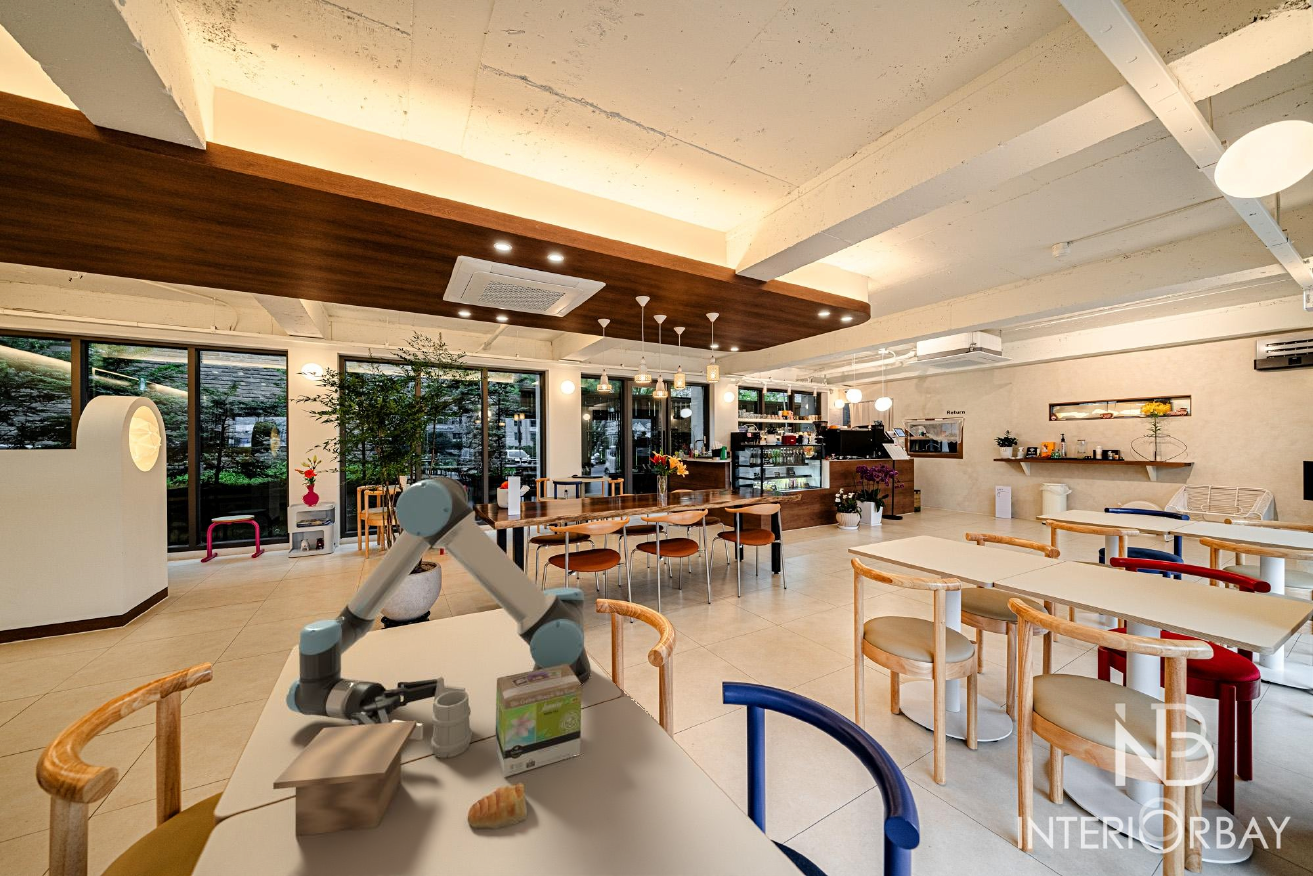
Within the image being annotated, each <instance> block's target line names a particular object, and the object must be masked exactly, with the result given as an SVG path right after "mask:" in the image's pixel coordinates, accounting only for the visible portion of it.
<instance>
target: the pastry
mask: <svg viewBox="0 0 1313 876" xmlns="http://www.w3.org/2000/svg"><path fill="white" fill-rule="evenodd" d="M527 809H528V808H527V803H526V794H525V787H524V784H523V783H522V782H519V783H518V784H516V785H509V786H508V785H507V786H504V787H502V786H501V787H499V788H497V789H496V790H495V791H493V792H492V793H490V794H488V795H486V796H483V797H482V798H481V799H479V800H478V801H476V802H475V803H473V804H472V805H471V807H470V808H469V811H468V815H467V822H468V824H469V825H470V826H471V827H472V828H475V829H481V828H482V827H483V828H482V829H484V828H485V829H491V828H493V830H495V829H494V828H496V829H497V827H498V828H503V827H507V826H511V825H510V824H512V825H514V823H515V824H517V823H516V822H518V823H520V822H519V821H521V822H523V821H524V820H525V819H526V817H527V814H528V813H527ZM524 818H525V819H524ZM523 819H524V820H523ZM522 820H523V821H522ZM506 825H507V826H506ZM502 826H503V827H502Z"/></svg>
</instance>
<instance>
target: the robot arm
mask: <svg viewBox="0 0 1313 876" xmlns="http://www.w3.org/2000/svg"><path fill="white" fill-rule="evenodd" d="M468 499H469V498H468V492H467V490H466V488H465V486H464V485H463V484H462V483H461V482H460V481H459V480H457V479H455V478H453V477H449V476H437V477H433V478H429V479H422V480H419V481H416V482H415V483H413V484H411V485H410V486H407V487H406V489H405V490H403V491H402V492H401V494H400V495H399V497H398V498H397V502H396V505H395V516H396V520H397V522H398V524H399V526H400V527H401V529H402V532H401V533H400V534H399V536H398V537H397V538H396V539H395V541H394V542H393V543H392V545H391V546H390V548H389V549H388V550H387V552H386V553H385V554H384V556H382V558H381V559H380V561H379V562H378V564H377V565H376V566H375V567H374V569H373V570H372V571H371V572H370V573H369V575H368V577H367V578H366V579H365V581H364V582H363V583H361V584H362V585H360V587H359V588H358V589H357V591H356V592H355V594H354V595H353V596H352V597H351V599H350V600H349V601H348V603H347V604H346V605H345V607H344V608H343V609H342V611H341V612H340V613H339V615H337V617H336V618H335V619H322V620H317V621H314V622H312V623H308V624H307V625H305V626H304V627H303V628H302V629H301V631H300V633H299V635H300V637H299V644H298V650H299V652H298V653H299V654H298V657H299V662H298V663H299V677H298V678H297V679H295V680H294V681H293V683H292V684H291V685H290V687H289V691H288V694H286V699H285V701H286V706H287V707H288V709H289V710H290V711H291V712H295V713H299V714H302V715H305V716H319V717H327V718H332V719H340V720H346V721H351V725H350V726H355V725H367V724H380V723H392V722H405V721H406V720H405V721H404V720H399V719H393V720H392V721H391V722H390V721H389V717H388V715H390V714H392V713H393V712H394V710H396V709H398V708H402V707H405V706H407V705H408V703H413V702H417V701H421V700H426V699H430V698H433V697H434V698H435V693H436V688H437V679H438V678H432V679H426V680H417V681H399V682H397V687H396V688H393V689H392V688H391V689H387V688H386V687H384V685H383V684H382V683H380V682H375V681H374V682H373V681H366V680H361V679H360V680H358V679H350V678H343V677H341V675H342V655H343V654H344V653H346V652H347V650H349V649H350V648H351V647H352V646H353V645H354V644H355V643H357V642H358V641H359V640H361V639H362V638H364V637H365V636H366V635H367V633H368V632H370V630H371V629H372V627H373V626H374V624H375V623H374V622H375V620H376V618H377V617H378V616H379V614H380V613H381V612H383V609H384V608H385V606H386V605H387V604H388V603H389V601H390V600H391V599H392V598H393V596H394V595H395V593H396V592H397V591H398V590H399V588H400V587H401V586H402V584H403V583H404V582H405V580H406V579H407V578H408V576H410V574H411V572H412V571H413V570H414V569H415V567H416V566H417V565H418V563H419V562H420V561H421V560H422V558H423V557H424V555H425V554H426V552H428V551H429V549H430V547H431V548H433V549H443V550H445V551H446V552H447V553H448V554H449V555H450V556H451V557H452V558H453V559H454V561H456V562H457V563H458V564H459V565H460V566H461V567H462V568H463V570H465V572H466V573H468V574H469V576H471V578H473V580H474V581H475V582H477V584H478V585H479V586H480V587H481V588H483V590H484V591H485V592H486V593H487V594H488V595H489V596H490V597H491V598H492V599H493V600H494V601H495V602H496V603H497V604H498V605H499V607H501V608H502V609H503V611H505V612H506V613H507V614H508V615H509V616H510V617H511V618H512V619H513V620H514V621H515V622H516V624H517V626H516V627H517V628H516V629H517V630H516V632H517V633H516V634H517V635H518V636H519V637H520V638H521V639H522V640H523V641H524V642H525V643H526V644H527V645H528V646H529V653H530V655H531V658H532V659H533V661H534V665H533V668H532V671H534V670H539V669H543V668H548V667H553V666H558V665H563V664H568V665H569V667H570V668H571V670H572V671H573V673H574V674H575V675H576V677H577V678H578V680H579V681H580V683H581V686H583V685H584V684H583V683H585V682H586V681H587V680H588V679H590V678H591V675H592V674H591V667H592V666H591V663H590V659H589V657H588V654H587V651H586V648H585V595H584V594H585V593H584V591H583V590H582V589H580V588H578V587H577V588H576V587H555V588H547V589H545V590H542V589H541V588H540V587H539V586H538V585H537V584H536V582H534V581H533V580H532V579H531V577H529V576H528V575H527V574H526V573H525V571H523V569H522V568H520V567H519V566H518V564H516V563H515V561H514V560H513V559H512V558H511V557H510V556H509V555H508V554H507V553H506V552H505V551H504V550H503V549H502V548H501V547H500V546H499V545H498V544H497V543H496V542H495V541H494V540H493V539H492V538H491V537H490V536H489V535H488V534H487V532H486V531H484V530H483V528H481V527H480V525H478V523H477V522H476V519H475V517H476V511H475V510H474V509H473V508H472V507H471V506H470V505H469V504H468ZM590 674H591V675H590ZM589 677H590V678H589ZM443 680H444V681H445V679H444V678H443ZM588 681H589V680H588ZM588 681H587V682H588ZM587 682H586V683H587ZM586 683H585V684H586ZM582 684H583V685H582ZM444 687H445V692H446V693H447V692H450V691H454V692H455V691H464V692H466V687H462V686H461V687H460V686H456V685H455V686H453V685H445V684H444ZM402 697H403V698H402ZM374 718H375V720H376V723H375V722H374V721H373V719H374ZM423 733H424V725H423V723H419V722H417V726H416V728H415V729H414V731H413V733H412V734H411V736H410V738H409V739H410V740H417V741H421V740H422V739H423V738H424V734H423ZM409 739H408V740H409Z"/></svg>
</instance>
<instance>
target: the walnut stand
mask: <svg viewBox="0 0 1313 876" xmlns="http://www.w3.org/2000/svg"><path fill="white" fill-rule="evenodd" d="M391 722H392V721H391ZM391 722H389V723H380V724H377V723H375V724H367V725H355V726H351V725H344V726H334V727H333V726H331V727H324V728H322V730H320V732H319V733H318V734H316V735H315V737H314V738H313V739H312V740H311V741H310V742H309V743H308V745H306V747H305V748H304V749H303V750H302V751H301V752H300V753H299V754H298V755H297V756H296V758H294V760H293V761H292V762H291V763H289V765H288V766H287V767H286V769H284V771H283V772H282V773H281V774H280V775H279V776H278V777H277V778H276V779H275V781H274V782H273V783H272V784H273V786H272V787H273V789H272V790H281V789H289V788H290V789H291V788H295V835H294V836H297V837H298V836H306V835H313V834H314V835H315V834H323V833H332V832H333V833H334V832H343V831H350V830H352V831H353V830H359V829H360V830H361V829H370V828H371V829H372V828H376V827H378V825H379V823H380V821H381V820H382V818H383V816H384V814H385V812H386V810H387V809H388V807H389V805H390V803H391V802H392V800H393V798H394V796H395V794H396V792H397V791H398V789H399V788H400V785H401V783H402V751H403V749H404V748H405V746H406V744H407V742H408V741H409V738H410V736H411V734H412V733H413V731H414V729H415V728H416V726H417V723H418V722H417V720H407V721H406V720H405V722H392V723H391Z"/></svg>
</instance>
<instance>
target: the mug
mask: <svg viewBox="0 0 1313 876" xmlns="http://www.w3.org/2000/svg"><path fill="white" fill-rule="evenodd" d="M436 679H437V688H436V693H435V697H434V699H433V701H434V703H433V704H432V705H433V706H432V711H433V712H432V713H433V714H432V716H431V719H432V722H433V733H432V737H431V740H430V746H431V747H430V748H431V749H432V754H434V756H435V757H439V758H442V759H444V758H445V759H446V758H453V757H456V756H458V755H460V754H462V753H464V752H466V750H467V749H468V748H469V746H470V743H471V740H472V736H473V734H472V729H471V728H470V716H471V712H472V711H471V707H470V705H469V704H470V703H469V702H470V701H469V694H468V693H467V692H466V691H465V692H464V691H455V692H454V691H450V692H447V693H446V692H445V687H444V685H445V679H444V677H443V676H440V677H437V678H436ZM443 679H444V680H443Z"/></svg>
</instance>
